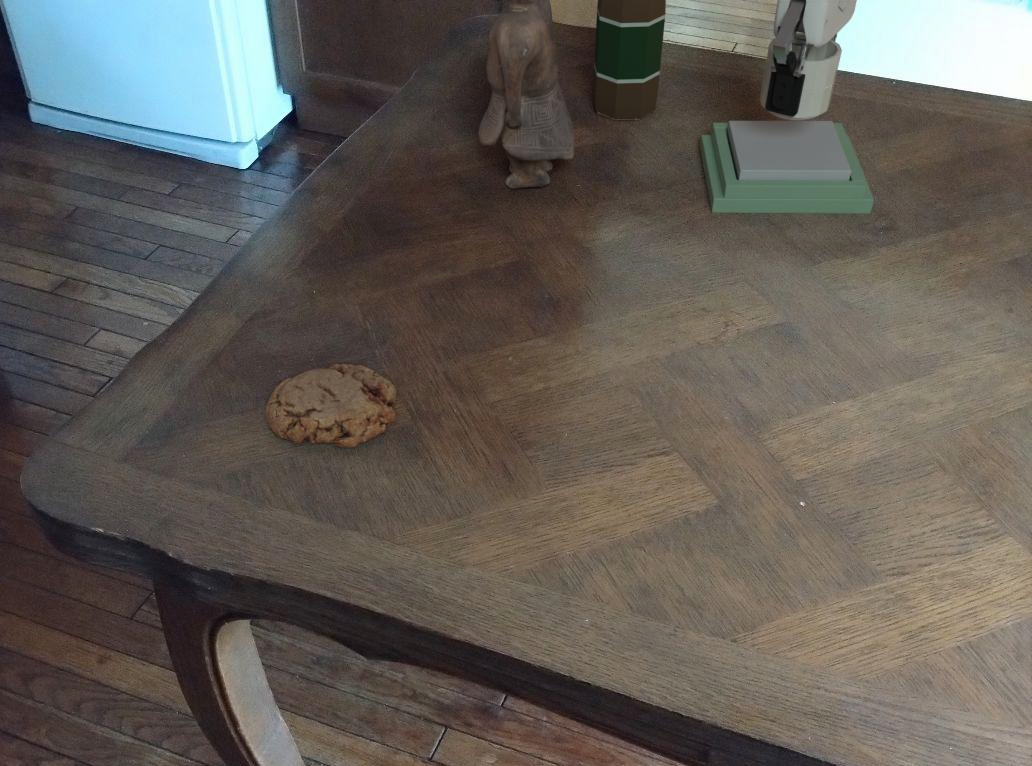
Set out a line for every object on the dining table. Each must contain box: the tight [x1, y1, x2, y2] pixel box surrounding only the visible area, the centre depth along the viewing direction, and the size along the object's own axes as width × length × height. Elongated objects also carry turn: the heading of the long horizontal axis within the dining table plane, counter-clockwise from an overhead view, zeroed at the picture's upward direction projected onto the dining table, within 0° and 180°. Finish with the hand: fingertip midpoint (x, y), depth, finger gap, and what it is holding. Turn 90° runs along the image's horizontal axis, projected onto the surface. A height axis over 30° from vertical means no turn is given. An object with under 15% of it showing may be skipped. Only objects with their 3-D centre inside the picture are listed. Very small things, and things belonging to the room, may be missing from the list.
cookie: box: [265, 363, 397, 448], centre depth 86 cm, size 10×11×3 cm
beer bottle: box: [592, 0, 667, 122], centre depth 116 cm, size 8×8×24 cm
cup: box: [759, 32, 843, 121], centre depth 105 cm, size 7×7×6 cm
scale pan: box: [727, 120, 851, 181], centre depth 110 cm, size 11×11×1 cm
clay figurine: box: [477, 0, 575, 190], centre depth 105 cm, size 13×10×25 cm
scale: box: [699, 122, 875, 215], centre depth 112 cm, size 16×14×3 cm
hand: (796, 96), depth 106 cm, fingers closed on cup, 7 cm apart
